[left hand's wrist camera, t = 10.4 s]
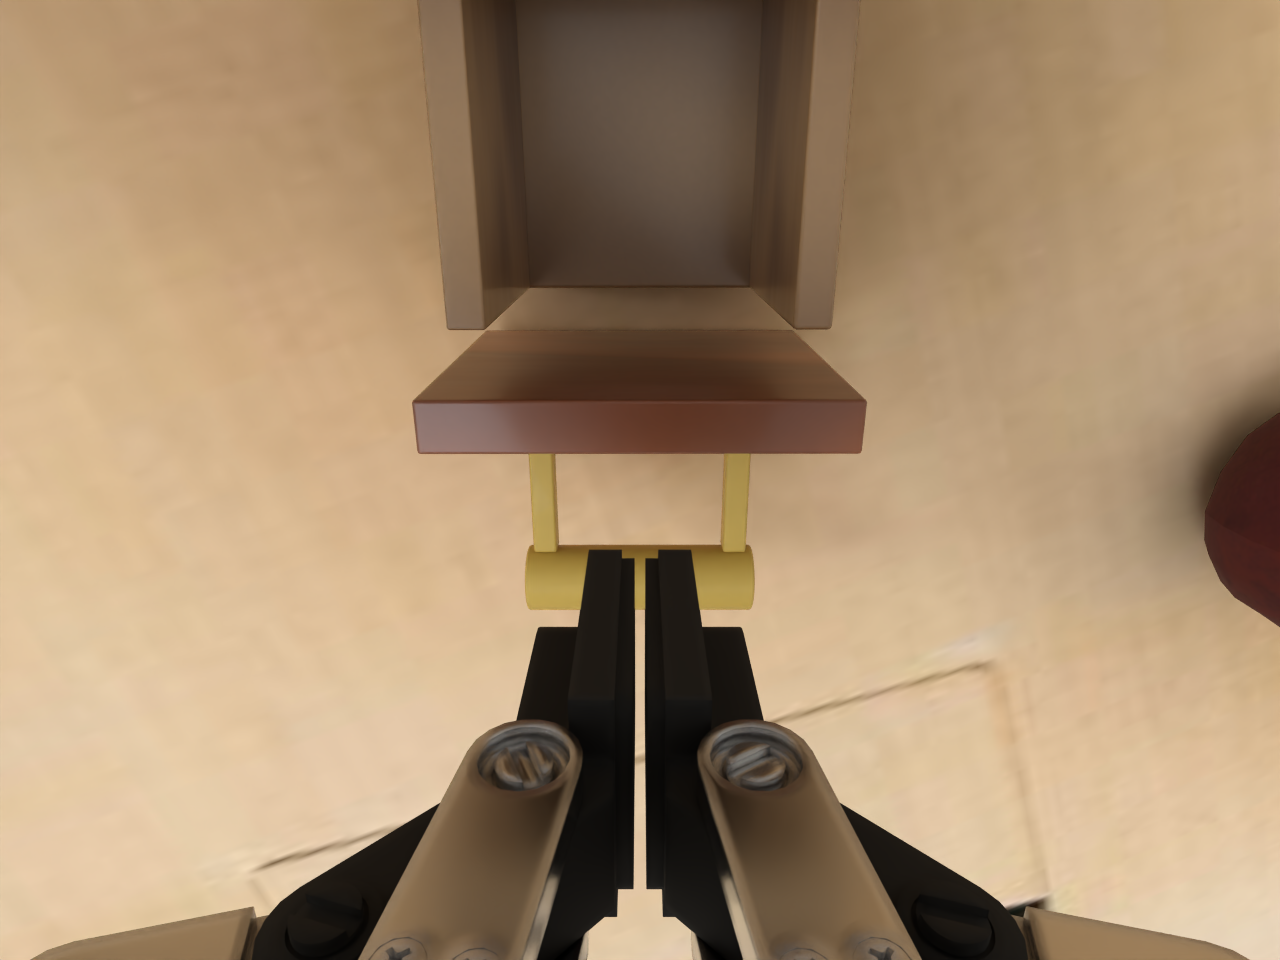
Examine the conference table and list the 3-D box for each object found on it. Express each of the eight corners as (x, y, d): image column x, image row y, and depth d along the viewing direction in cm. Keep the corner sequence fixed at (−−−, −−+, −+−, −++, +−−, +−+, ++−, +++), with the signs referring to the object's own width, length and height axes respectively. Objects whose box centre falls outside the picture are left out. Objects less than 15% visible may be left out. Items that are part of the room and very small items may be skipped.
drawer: (780, 521, 26) (839, 663, 18) (499, 521, 26) (440, 663, 18) (843, -379, 18) (999, -809, 10) (434, -378, 18) (276, -809, 10)
